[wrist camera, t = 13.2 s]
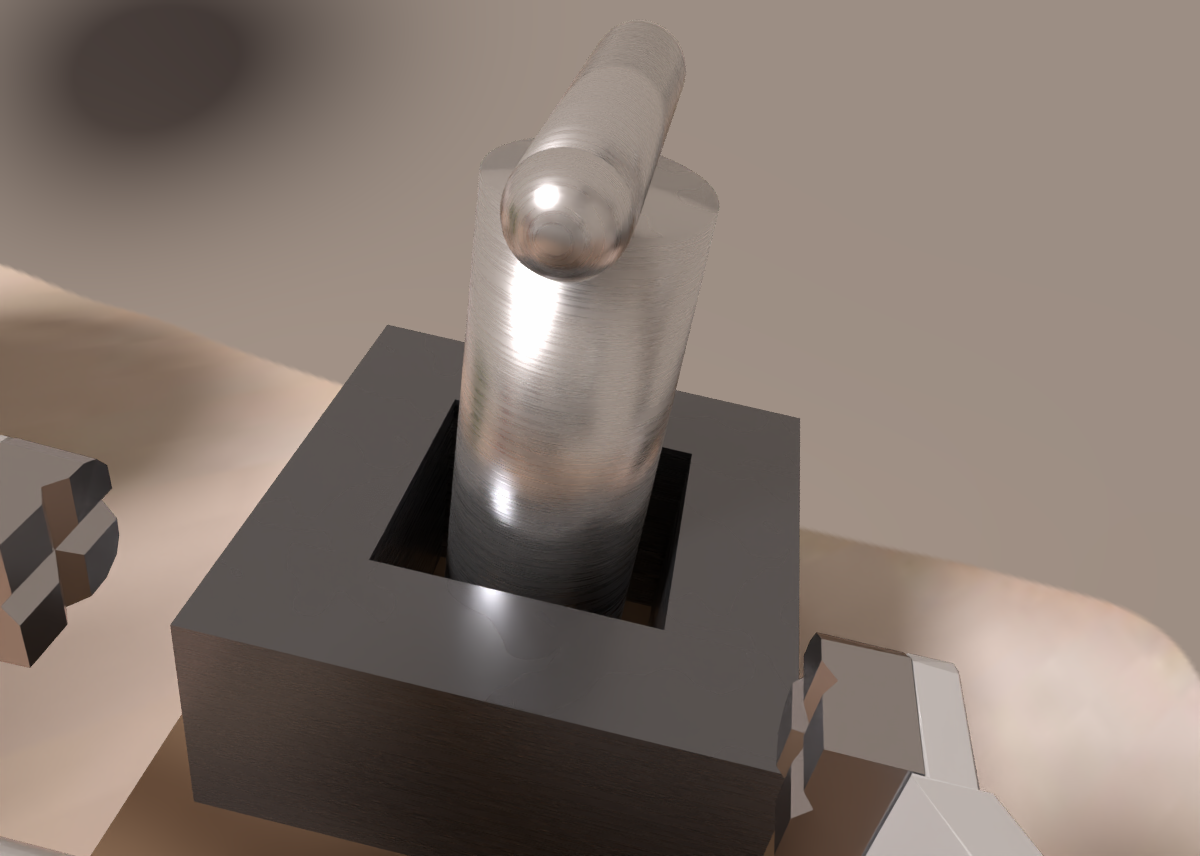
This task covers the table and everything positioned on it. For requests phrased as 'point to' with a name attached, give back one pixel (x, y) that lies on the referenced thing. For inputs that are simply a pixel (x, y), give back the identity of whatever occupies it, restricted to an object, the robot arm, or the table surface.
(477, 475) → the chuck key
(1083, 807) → the table surface
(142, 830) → the beige thin flat slab
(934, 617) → the table surface
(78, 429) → the table surface
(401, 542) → the square socket block
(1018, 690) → the table surface
